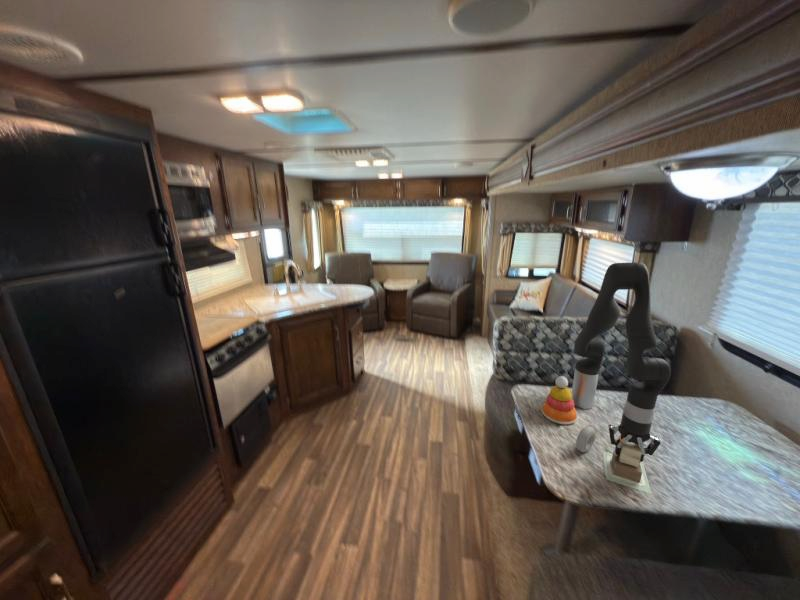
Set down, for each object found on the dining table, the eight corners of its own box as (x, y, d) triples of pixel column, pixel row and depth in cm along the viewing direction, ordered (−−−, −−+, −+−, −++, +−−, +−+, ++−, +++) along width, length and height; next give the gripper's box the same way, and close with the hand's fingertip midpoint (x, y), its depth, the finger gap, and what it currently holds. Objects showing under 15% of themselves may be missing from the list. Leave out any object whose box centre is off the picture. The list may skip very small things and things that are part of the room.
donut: (581, 459, 109) (585, 436, 107) (572, 453, 112) (575, 430, 109) (595, 447, 115) (599, 425, 112) (585, 442, 117) (589, 420, 115)
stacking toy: (569, 407, 138) (575, 369, 133) (583, 428, 125) (590, 386, 119) (536, 405, 140) (541, 367, 135) (546, 425, 127) (552, 384, 121)
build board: (602, 452, 112) (602, 450, 112) (642, 464, 106) (643, 462, 106) (605, 481, 100) (606, 478, 100) (651, 496, 95) (651, 493, 94)
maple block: (617, 451, 105) (620, 437, 103) (635, 456, 103) (639, 442, 101) (619, 461, 101) (622, 446, 99) (638, 467, 98) (641, 452, 97)
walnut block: (611, 459, 108) (613, 450, 107) (636, 467, 104) (638, 457, 103) (613, 474, 102) (615, 464, 101) (639, 482, 98) (642, 472, 97)
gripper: (663, 414, 97) (652, 458, 101) (609, 402, 103) (601, 443, 108) (669, 429, 90) (657, 474, 95) (612, 415, 97) (603, 458, 102)
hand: (627, 457), depth 102 cm, fingers closed on maple block, 5 cm apart
